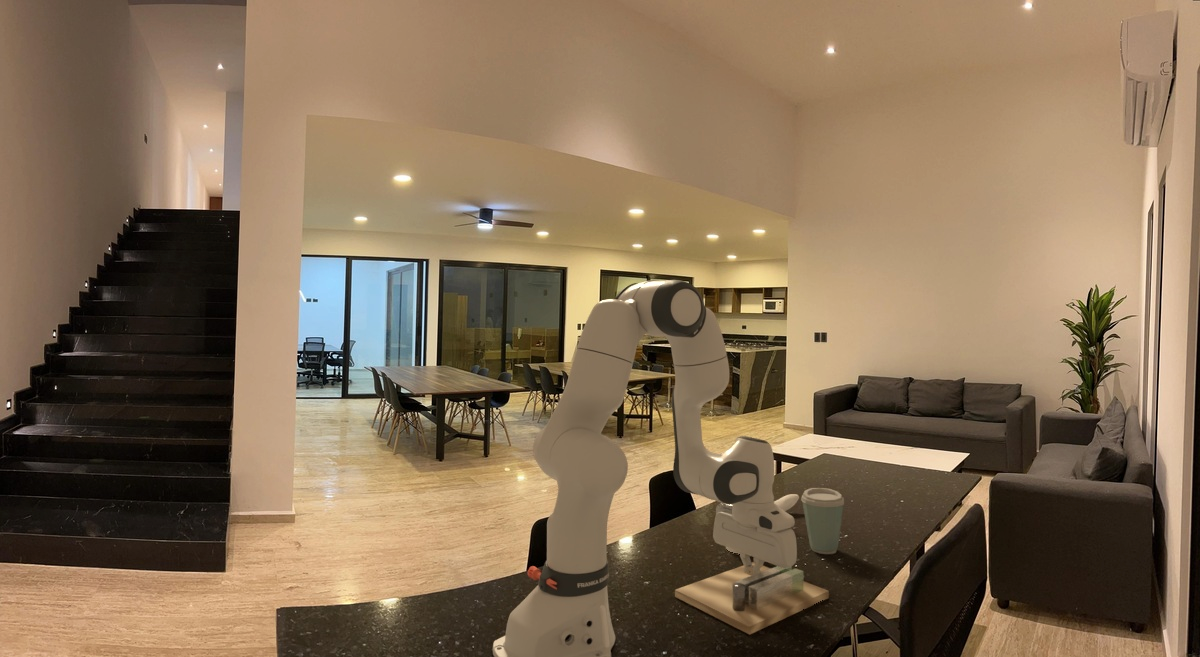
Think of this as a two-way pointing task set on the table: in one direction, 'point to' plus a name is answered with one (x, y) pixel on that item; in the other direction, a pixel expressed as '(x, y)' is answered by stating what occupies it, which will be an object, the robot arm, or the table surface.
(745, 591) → the bar
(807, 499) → the disposable coffee cup
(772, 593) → the bar
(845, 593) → the table surface
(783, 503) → the banana
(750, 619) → the cutting board
